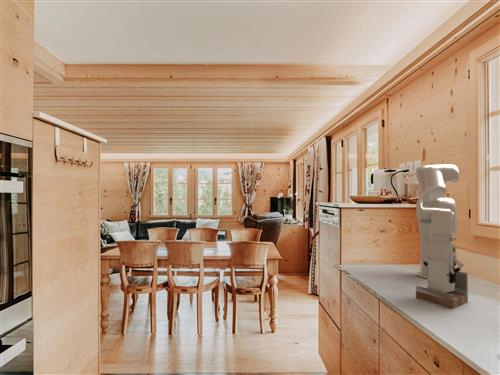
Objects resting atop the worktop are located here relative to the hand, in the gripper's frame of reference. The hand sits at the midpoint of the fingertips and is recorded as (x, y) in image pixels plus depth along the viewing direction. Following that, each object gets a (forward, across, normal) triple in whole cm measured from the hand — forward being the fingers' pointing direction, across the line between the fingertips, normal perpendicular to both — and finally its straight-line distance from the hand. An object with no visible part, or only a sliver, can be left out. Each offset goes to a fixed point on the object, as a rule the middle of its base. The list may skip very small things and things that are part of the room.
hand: (441, 280), depth 128 cm
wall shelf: (+8, 0, 0) cm, 8 cm away
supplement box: (+4, 0, 0) cm, 4 cm away
